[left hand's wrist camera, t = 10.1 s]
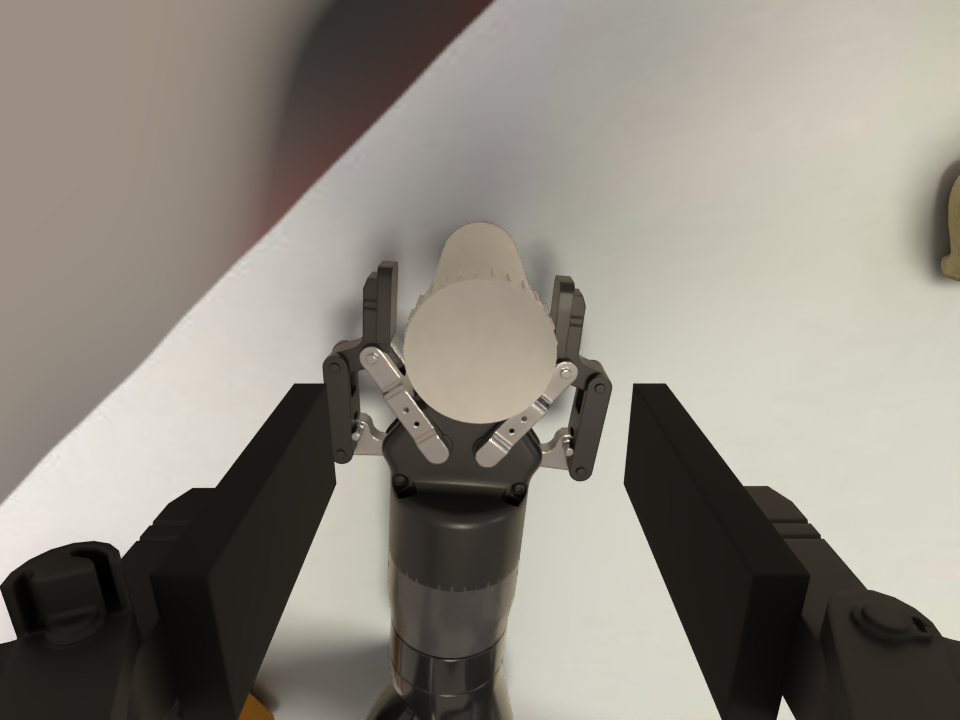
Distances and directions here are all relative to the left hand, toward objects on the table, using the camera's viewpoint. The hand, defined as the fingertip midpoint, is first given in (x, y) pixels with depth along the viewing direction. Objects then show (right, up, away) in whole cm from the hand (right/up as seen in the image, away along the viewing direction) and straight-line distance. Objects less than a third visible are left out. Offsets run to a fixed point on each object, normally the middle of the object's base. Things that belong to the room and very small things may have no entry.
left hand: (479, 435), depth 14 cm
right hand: (0, +6, +14) cm, 16 cm away
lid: (0, +2, +6) cm, 6 cm away
